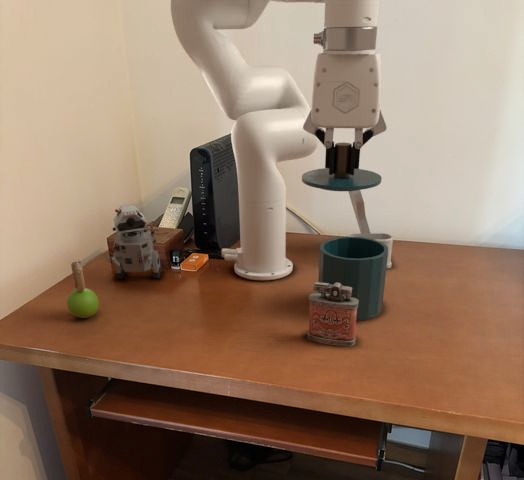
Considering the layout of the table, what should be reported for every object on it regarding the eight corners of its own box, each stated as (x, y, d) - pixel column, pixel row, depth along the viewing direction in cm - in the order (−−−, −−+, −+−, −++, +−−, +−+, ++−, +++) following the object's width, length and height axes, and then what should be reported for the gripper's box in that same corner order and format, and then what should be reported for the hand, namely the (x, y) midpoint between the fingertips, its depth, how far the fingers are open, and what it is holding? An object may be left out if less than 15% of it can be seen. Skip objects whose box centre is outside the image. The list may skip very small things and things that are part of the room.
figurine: (110, 291, 109) (97, 217, 102) (122, 269, 119) (111, 200, 112) (155, 290, 109) (146, 216, 102) (163, 268, 119) (156, 200, 112)
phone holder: (392, 269, 117) (402, 183, 108) (345, 269, 118) (351, 184, 108) (378, 241, 132) (386, 164, 123) (336, 242, 132) (341, 165, 123)
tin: (314, 318, 98) (317, 257, 92) (320, 291, 108) (322, 235, 102) (382, 323, 96) (388, 261, 90) (381, 295, 106) (387, 237, 100)
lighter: (357, 338, 92) (361, 283, 86) (353, 347, 89) (357, 291, 84) (310, 331, 94) (312, 277, 89) (305, 340, 91) (306, 285, 86)
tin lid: (297, 193, 85) (298, 151, 81) (305, 173, 95) (306, 136, 92) (382, 195, 83) (386, 153, 80) (379, 175, 94) (383, 137, 91)
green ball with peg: (74, 328, 96) (60, 263, 90) (67, 313, 101) (54, 252, 95) (105, 321, 98) (94, 258, 92) (97, 307, 103) (85, 246, 97)
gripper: (290, 43, 77) (289, 177, 86) (409, 42, 75) (394, 180, 84) (296, 42, 83) (294, 166, 93) (405, 41, 81) (391, 169, 90)
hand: (341, 172), depth 88 cm, fingers closed on tin lid, 2 cm apart
